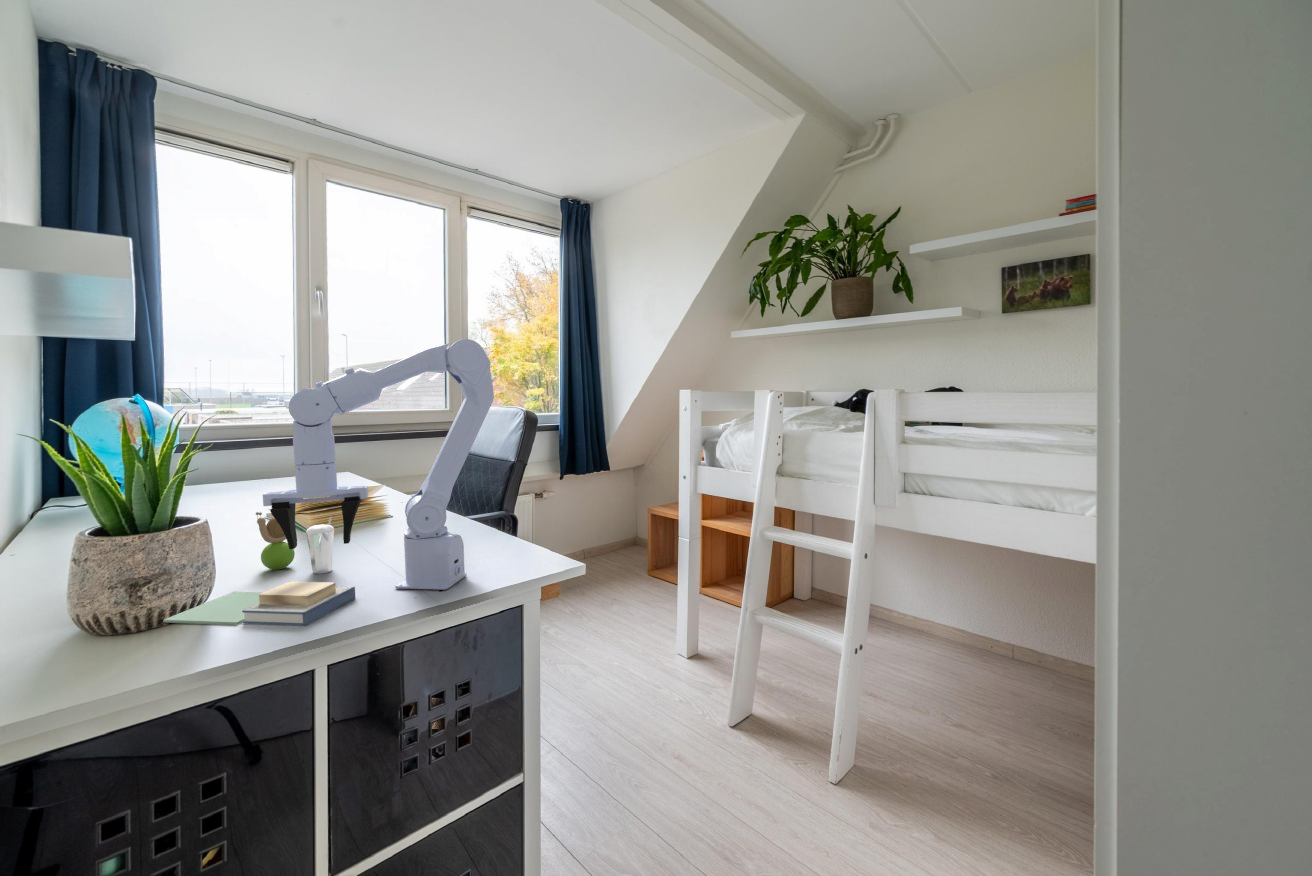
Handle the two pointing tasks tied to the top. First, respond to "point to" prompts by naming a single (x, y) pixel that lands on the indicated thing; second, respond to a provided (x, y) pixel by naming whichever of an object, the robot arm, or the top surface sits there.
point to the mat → (219, 610)
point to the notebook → (298, 610)
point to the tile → (297, 593)
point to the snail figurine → (274, 545)
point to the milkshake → (321, 547)
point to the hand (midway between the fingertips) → (320, 544)
